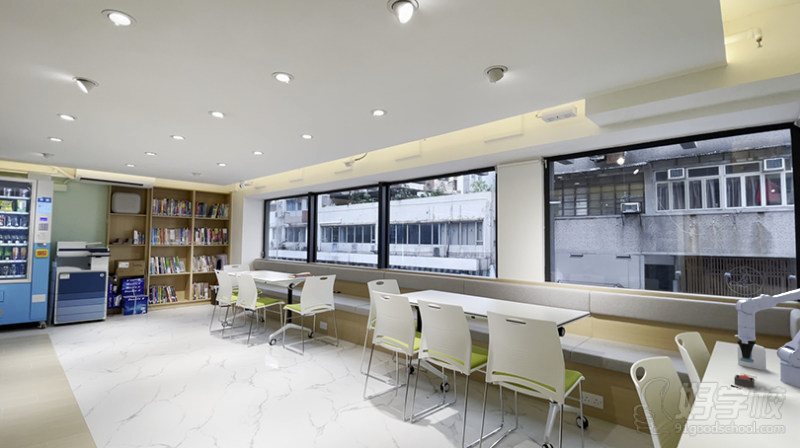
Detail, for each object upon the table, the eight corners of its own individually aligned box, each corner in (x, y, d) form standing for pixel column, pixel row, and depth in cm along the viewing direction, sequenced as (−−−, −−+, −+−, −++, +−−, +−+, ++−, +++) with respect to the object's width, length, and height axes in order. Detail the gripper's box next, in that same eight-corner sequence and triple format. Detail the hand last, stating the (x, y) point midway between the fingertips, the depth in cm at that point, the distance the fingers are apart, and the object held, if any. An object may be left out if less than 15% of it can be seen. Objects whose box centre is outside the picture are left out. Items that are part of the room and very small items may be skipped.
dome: (738, 381, 161) (738, 372, 161) (751, 384, 158) (751, 375, 158) (737, 383, 158) (737, 374, 158) (750, 386, 155) (750, 377, 156)
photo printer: (737, 367, 187) (736, 342, 188) (738, 365, 190) (738, 340, 190) (765, 372, 179) (765, 346, 180) (766, 371, 182) (766, 345, 182)
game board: (737, 373, 176) (737, 365, 176) (760, 378, 170) (760, 369, 170) (730, 386, 159) (730, 376, 159) (756, 392, 153) (756, 382, 153)
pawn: (756, 362, 166) (756, 346, 167) (746, 362, 166) (746, 346, 166) (746, 359, 171) (746, 344, 171) (737, 359, 171) (736, 343, 171)
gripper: (736, 323, 177) (737, 352, 176) (732, 327, 167) (732, 358, 167) (757, 326, 172) (757, 356, 171) (754, 330, 162) (754, 362, 161)
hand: (746, 357), depth 168 cm, fingers closed on pawn, 3 cm apart
